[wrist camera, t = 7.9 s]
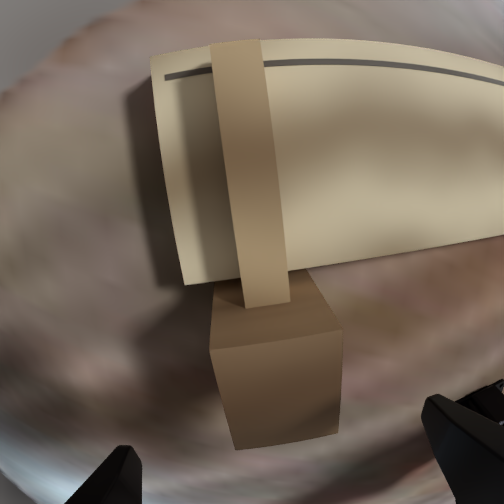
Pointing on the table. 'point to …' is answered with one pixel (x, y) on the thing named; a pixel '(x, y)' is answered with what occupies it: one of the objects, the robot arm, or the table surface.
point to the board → (340, 151)
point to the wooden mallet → (266, 283)
